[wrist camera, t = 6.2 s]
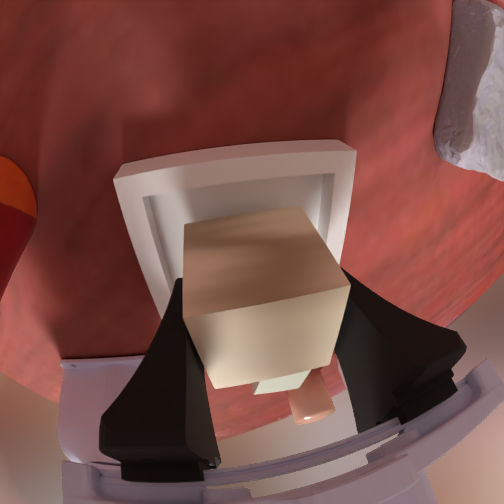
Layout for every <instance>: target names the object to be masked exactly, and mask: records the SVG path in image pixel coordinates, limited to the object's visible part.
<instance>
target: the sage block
mask: <svg viewBox="0 0 504 504" xmlns="http://www.w3.org/2000/svg"><path fill="white" fill-rule="evenodd" d="M310 371H311V370H308V371H304V372H300V373H296V374H291V375H287V376H283V377H278V378H274V379H269V380H264V381H259V382H254V383H251V384H252V388H253V393H254V395H255V394H263V393H271V392H278V391H285V390H291V389H297V388H299V387H300V386H301V384H302V383H303V381H304V380H305V378H306V377H307V375H308V374H309V372H310Z"/></svg>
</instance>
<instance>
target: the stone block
mask: <svg viewBox="0 0 504 504" xmlns="http://www.w3.org/2000/svg"><path fill="white" fill-rule="evenodd" d="M434 142H435V149H436V151H437V153H438V155H439V156H440V157H441V158H442V159H443V160H446V161H448V162H450V163H452V164H453V165H455V166H458V167H461V168H464V169H467V170H476V171H478V172H484V173H487V174H488V175H490V176H491V177H493V178H496V179H498V180H500V181H504V10H503V9H502V8H501V7H500V6H498V5H496V4H494V3H492V2H489V1H486V0H454V2H453V6H452V21H451V35H450V44H449V53H448V60H447V67H446V73H445V78H444V87H443V92H442V96H441V98H440V103H439V108H438V112H437V116H436V121H435V129H434Z"/></svg>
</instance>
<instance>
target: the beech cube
mask: <svg viewBox="0 0 504 504" xmlns="http://www.w3.org/2000/svg"><path fill="white" fill-rule="evenodd" d="M350 287H351V284H350V282H349V281H348V279H347V277H346V276H345V274H344V273H343V271H342V269H341V268H340V266H339V264H338V263H337V261H336V260H335V258H334V256H333V255H332V253H331V252H330V250H329V249H328V247H327V245H326V244H325V242H324V241H323V239H322V238H321V236H320V235H319V233H318V232H317V230H316V228H315V227H314V225H313V224H312V222H311V221H310V219H309V218H308V216H307V215H306V213H305V212H304V211H303V209H302V208H301V206H300V205H299V206H292V207H285V208H278V209H271V210H265V211H258V212H252V213H246V214H239V215H233V216H227V217H221V218H215V219H210V220H204V221H198V222H193V223H187V224H184V242H183V319H184V322H185V324H186V326H187V329H188V331H189V334H190V336H191V338H192V340H193V343H194V345H195V347H196V350H197V352H198V354H199V356H200V358H201V361H202V363H203V365H204V367H205V369H206V371H207V373H208V376H209V378H210V380H211V382H212V384H213V386H214V388H215V389H218V388H225V387H231V386H237V385H243V384H249V383H254V382H259V381H264V380H269V379H274V378H278V377H283V376H287V375H291V374H296V373H300V372H304V371H308V370H311V369H315V368H319V367H323V366H326V365H329V364H330V360H331V357H332V354H333V351H334V347H335V344H336V340H337V337H338V333H339V330H340V326H341V323H342V319H343V315H344V311H345V307H346V303H347V299H348V295H349V291H350Z"/></svg>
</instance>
